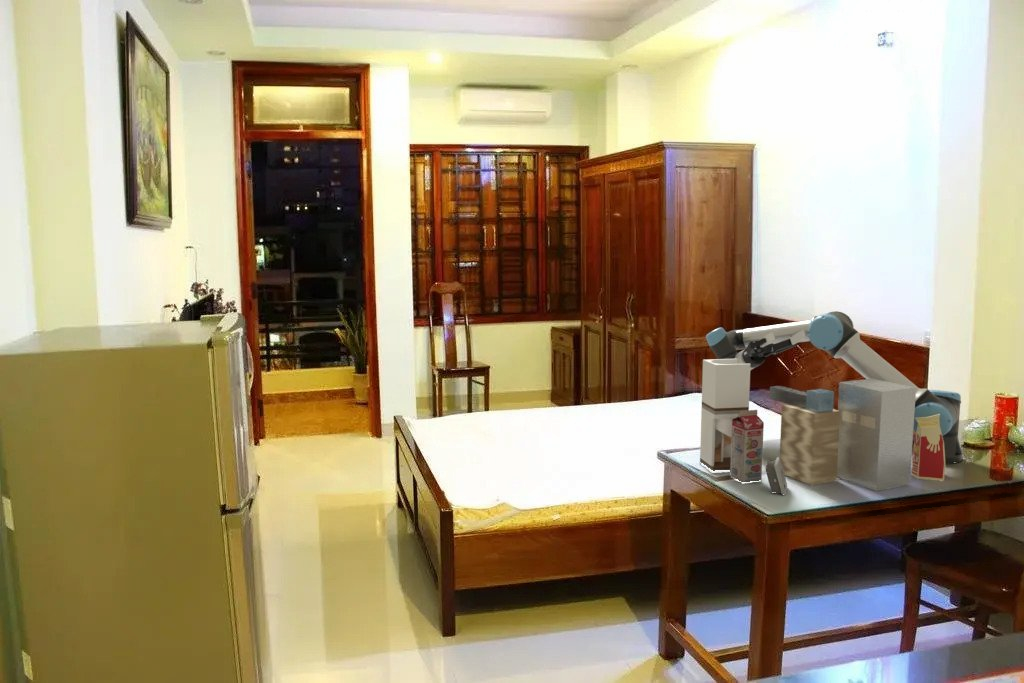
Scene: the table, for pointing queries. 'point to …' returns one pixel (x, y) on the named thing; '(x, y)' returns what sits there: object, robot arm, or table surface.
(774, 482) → the electrical switch
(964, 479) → the table surface
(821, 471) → the birch block
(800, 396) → the bar
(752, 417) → the juice carton
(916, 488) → the table surface
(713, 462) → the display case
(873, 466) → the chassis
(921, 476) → the milk carton
